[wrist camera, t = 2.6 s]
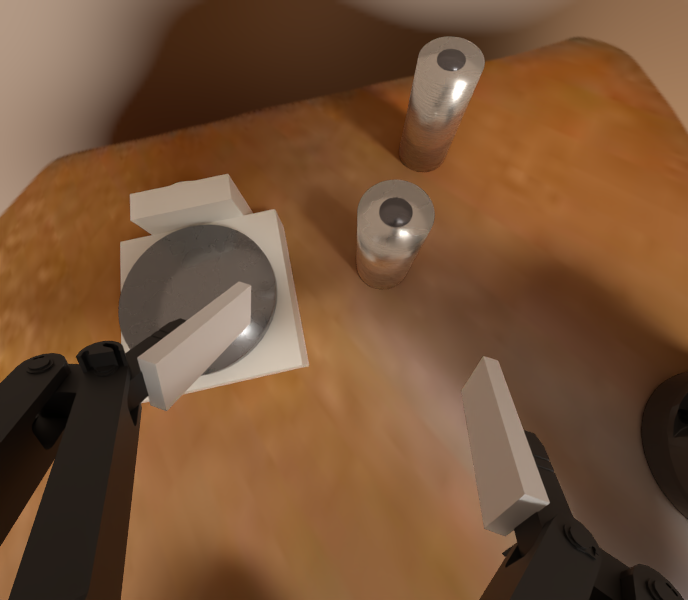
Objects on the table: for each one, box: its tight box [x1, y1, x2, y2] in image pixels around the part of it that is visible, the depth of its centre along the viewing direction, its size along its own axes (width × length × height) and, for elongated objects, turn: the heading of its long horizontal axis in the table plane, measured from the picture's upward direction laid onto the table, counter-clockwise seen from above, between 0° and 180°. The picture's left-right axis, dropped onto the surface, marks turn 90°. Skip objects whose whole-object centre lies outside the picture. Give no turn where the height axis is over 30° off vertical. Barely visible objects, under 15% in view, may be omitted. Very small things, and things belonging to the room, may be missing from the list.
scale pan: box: [118, 225, 277, 376], centre depth 27 cm, size 15×15×1 cm
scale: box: [120, 174, 309, 403], centre depth 28 cm, size 17×21×7 cm
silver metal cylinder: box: [356, 180, 435, 289], centre depth 27 cm, size 6×6×11 cm
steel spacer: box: [399, 37, 485, 172], centre depth 30 cm, size 6×6×11 cm
